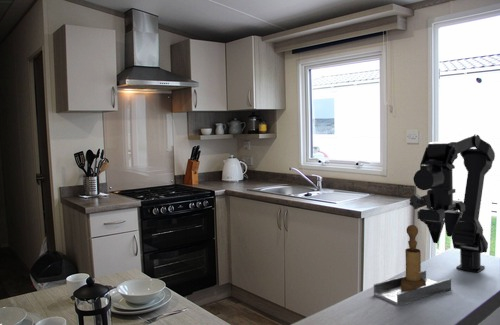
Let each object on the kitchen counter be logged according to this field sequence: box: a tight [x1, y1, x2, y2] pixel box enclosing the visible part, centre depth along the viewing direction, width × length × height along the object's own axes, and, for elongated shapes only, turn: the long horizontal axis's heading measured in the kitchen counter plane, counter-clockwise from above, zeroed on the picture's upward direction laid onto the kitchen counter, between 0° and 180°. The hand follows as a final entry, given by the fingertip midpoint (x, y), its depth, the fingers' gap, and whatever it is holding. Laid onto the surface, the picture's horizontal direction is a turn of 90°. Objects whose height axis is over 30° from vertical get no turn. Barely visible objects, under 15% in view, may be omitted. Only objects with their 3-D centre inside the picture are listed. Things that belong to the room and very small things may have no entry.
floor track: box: [373, 270, 452, 307], centre depth 119 cm, size 20×9×3 cm, turn 117°
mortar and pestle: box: [401, 224, 426, 292], centre depth 118 cm, size 7×6×18 cm
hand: (442, 239), depth 123 cm, fingers open, 9 cm apart
